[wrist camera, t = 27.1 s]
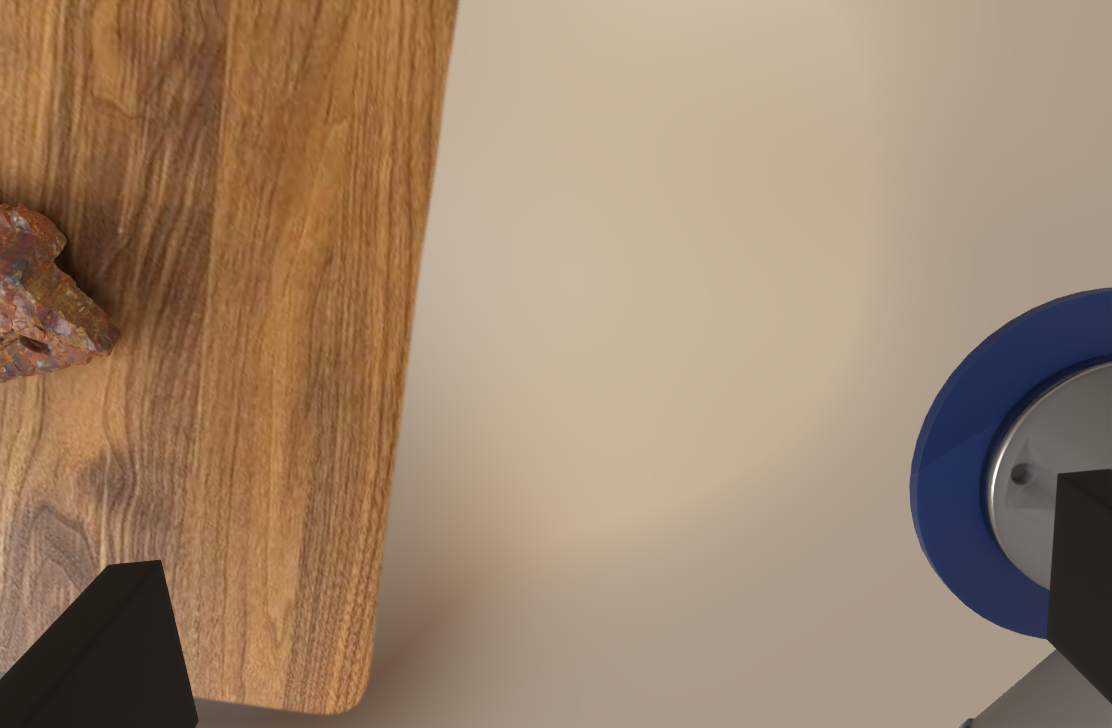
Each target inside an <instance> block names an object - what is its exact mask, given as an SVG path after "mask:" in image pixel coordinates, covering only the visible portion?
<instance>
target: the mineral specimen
mask: <svg viewBox="0 0 1112 728" xmlns="http://www.w3.org/2000/svg"><path fill="white" fill-rule="evenodd" d="M66 243H67V239H66V238H65V236H64V235H63V233H62V232H61V231H59V230H58V229H57V227H56V225H55V224H54V223H53V222H52V221H51V220H50V219H48V218H47V217H45V216H44V215H42V214H40V213H38V212H37V211H35V210H29V209H28V208H27V207H26V206H24V205H23V204H22V203H18V206H17V207H13V208H12V206H11V205H8V204H6V203H4V204H1V205H0V383H1V382H7V381H9V380H12V379H16V378H21V377H23V378H25V377H28V376H34V375H36V374H46V373H51V372H53V371H55V370H59V369H63V368H66V367H69V366H70V365H71V364H76V365H81V364H83V365H86V364H88V363H89V362H90V361H91V360H92V359H93V358H96V357H106V356H109V355H110V354H111V352H112V350H113V348H114V346H115V344H116V343H117V341H118V340H119V339H120V338H121V337H122V334H121V331H120V330H119V329H118V328H117V327H116V326H115V325H114V324H111V321H112V317H111V316H110V315H108V314H107V313H106V312H104V311H103V309H102V308H100V307H99V306H98V305H97V304H96V303H94V301H93V300H92V299H91V298H89V297H88V296H87V295H86V294H84V293H83V292H82V291H81V290H80V288H78V287H77V286H76V282H75V281H74V280H73V279H72V278H71V276H69V275H67V274H65V273H63V272H62V271H61V270H60V269H59V268H57V266H56V264H55V263H54V260H55V258H56V257H57V256H58V255H59V254H60V253H61V251H62V250H63V248H64V246H65V245H66Z"/></svg>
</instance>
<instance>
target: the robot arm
mask: <svg viewBox="0 0 1112 728" xmlns="http://www.w3.org/2000/svg"><path fill="white" fill-rule="evenodd" d="M979 497H980V506H981V513H982V516H983V520H984V523H985V526H986V528H987V531H988V533H989V535H990V537H991V539H992V541H993V542H994V544H995V545H996V547H997V548H998V549H999V551H1000V552H1001V553H1002V554H1003V555H1004V556H1005V558H1006V559H1008V560H1009V561H1010V562H1011V563H1012V564H1013V565H1014V566H1015V567H1017V568H1018V569H1019V570H1020V571H1021V572H1022V573H1023V574H1024V575H1026V576H1027V577H1028V578H1029V579H1031V580H1032V581H1034V582H1035V583H1037V584H1038V585H1040V586H1042V587H1044V588H1046V589H1048V590H1050V592H1049V607H1048V622H1047V637H1046V639H1047V640H1048V641H1049V642H1050V643H1051V644H1052V645H1053V646H1054V647H1055V648H1056V650H1055V651H1054V652H1053V653H1051V654H1050V655H1049V656H1048V657H1047V658H1046V659H1044V660H1043V661H1042V662H1041V663H1039V664H1038V665H1037V666H1036V667H1035V668H1034V669H1032V670H1031V671H1030V672H1029V673H1028V674H1026V675H1025V676H1024V677H1023V678H1022V679H1021V680H1019V681H1018V682H1017V683H1016V684H1015V685H1014V686H1012V687H1011V688H1010V689H1009V690H1008V691H1007V692H1005V693H1004V694H1003V695H1002V696H1001V697H1000V698H998V699H997V700H996V701H995V702H994V703H993V704H991V705H990V706H989V707H988V708H987V709H985V710H984V711H983V712H982V713H981V714H980V715H978V716H977V717H976V718H975V719H968V720H967V721H965V722H964V723H963V724H962V725H961V726H960V727H959V728H1112V355H1110V356H1103V357H1097V358H1093V359H1089V360H1085V361H1082V362H1079V363H1076V364H1073V365H1071V366H1068V367H1066V368H1064V369H1062V370H1060V371H1058V372H1056V373H1054V374H1053V375H1051V376H1049V377H1047V378H1046V379H1044V380H1043V381H1042V382H1040V383H1039V384H1037V385H1036V386H1035V387H1033V388H1032V389H1031V390H1030V391H1029V392H1027V393H1026V394H1025V395H1024V396H1023V397H1022V398H1021V399H1020V400H1019V401H1018V402H1017V403H1016V404H1015V405H1014V406H1013V408H1012V409H1011V410H1010V411H1009V412H1008V414H1007V415H1006V416H1005V418H1004V419H1003V420H1002V422H1001V423H1000V425H999V427H998V428H997V430H996V432H995V433H994V435H993V438H992V440H991V442H990V444H989V446H988V449H987V452H986V454H985V457H984V461H983V465H982V469H981V475H980V486H979ZM197 723H198V716H197V712H196V708H195V704H194V699H193V695H192V691H191V686H190V682H189V678H188V673H187V669H186V665H185V661H184V656H183V652H182V648H181V644H180V639H179V635H178V631H177V626H176V622H175V618H174V614H173V609H172V605H171V601H170V596H169V592H168V588H167V584H166V579H165V575H164V571H163V566H162V562H161V560H154V561H143V562H133V563H122V564H112V565H108V566H107V567H106V568H105V569H104V570H103V571H102V572H101V573H100V574H99V575H98V576H97V577H96V578H95V580H94V581H93V582H92V583H91V584H90V585H89V586H88V587H87V588H86V589H85V590H84V591H83V592H82V593H81V594H80V595H79V597H78V598H77V599H76V600H75V601H74V602H73V603H72V604H71V605H70V606H69V607H68V608H67V609H66V610H65V611H64V612H63V613H62V615H61V616H60V617H59V618H58V619H57V620H56V621H55V622H54V623H53V624H52V625H51V626H50V627H49V628H48V629H47V630H46V632H45V633H44V634H43V635H42V636H41V637H40V638H39V639H38V640H37V641H36V642H35V643H34V644H33V645H32V646H31V647H30V648H29V650H28V651H27V652H26V653H25V654H24V655H23V656H22V657H21V658H20V659H19V660H18V661H17V662H16V663H15V664H14V665H13V667H12V668H11V669H10V670H9V671H8V672H7V673H6V674H5V675H4V676H3V677H2V678H1V679H0V728H195V727H196V725H197Z"/></svg>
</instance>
